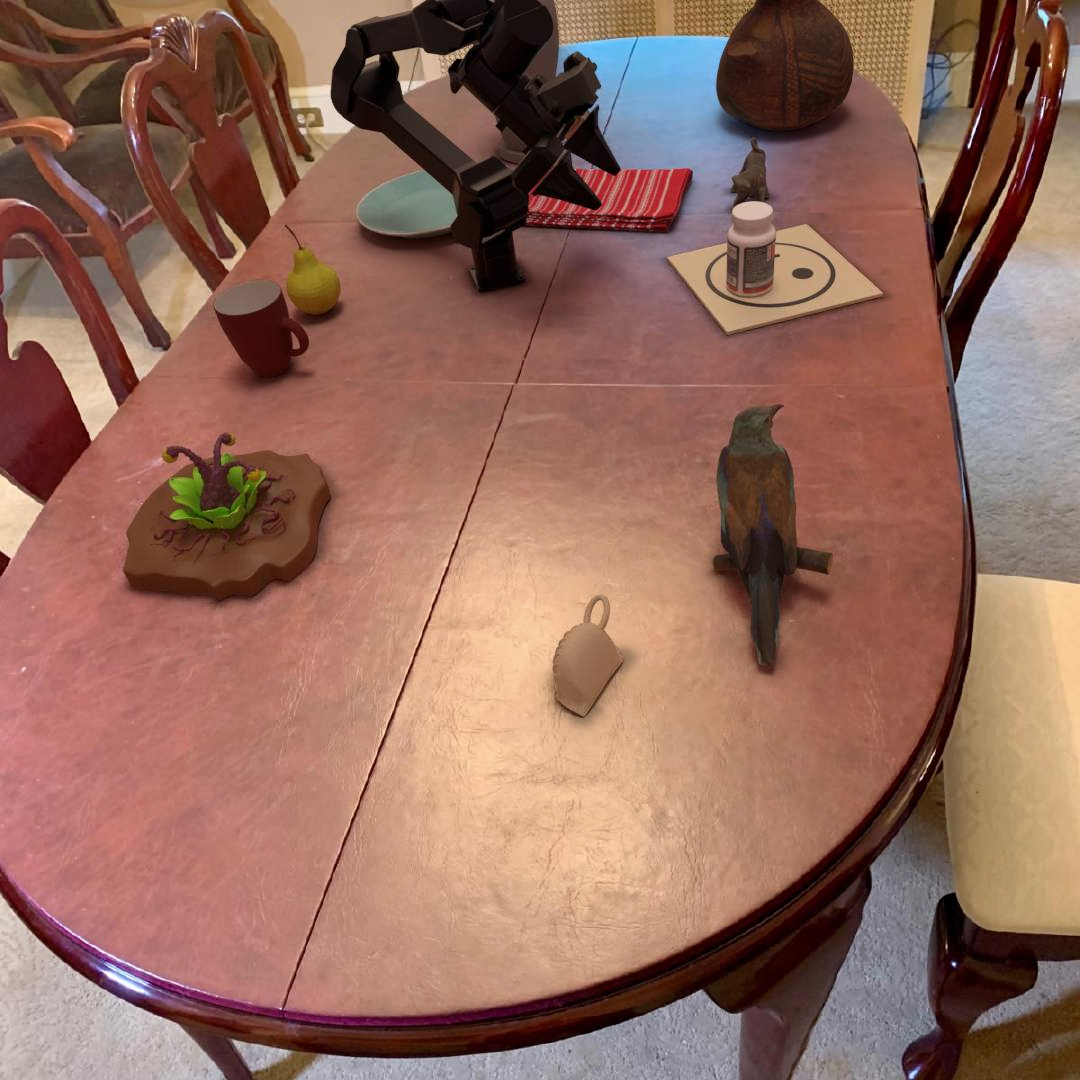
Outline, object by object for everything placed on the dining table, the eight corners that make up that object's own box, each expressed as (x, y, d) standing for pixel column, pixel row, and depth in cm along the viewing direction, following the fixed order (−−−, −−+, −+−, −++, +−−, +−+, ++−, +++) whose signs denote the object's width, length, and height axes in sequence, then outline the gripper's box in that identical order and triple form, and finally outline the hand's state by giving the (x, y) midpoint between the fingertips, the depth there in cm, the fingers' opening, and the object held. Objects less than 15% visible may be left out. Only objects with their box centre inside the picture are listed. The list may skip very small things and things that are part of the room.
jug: (712, 97, 164) (716, -108, 143) (841, 88, 160) (864, -123, 139) (711, 148, 148) (715, -72, 128) (853, 141, 145) (881, -87, 124)
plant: (170, 471, 104) (128, 388, 96) (342, 460, 102) (314, 374, 94) (105, 608, 90) (50, 523, 82) (304, 597, 88) (266, 510, 80)
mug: (333, 352, 118) (311, 280, 111) (307, 390, 112) (282, 317, 105) (258, 349, 120) (232, 278, 113) (229, 386, 115) (200, 314, 108)
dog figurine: (732, 185, 139) (733, 134, 133) (772, 185, 137) (775, 133, 132) (722, 223, 131) (724, 170, 125) (765, 224, 129) (768, 170, 124)
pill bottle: (779, 278, 117) (784, 202, 110) (764, 301, 114) (769, 224, 107) (734, 272, 120) (737, 196, 113) (719, 294, 116) (721, 218, 109)
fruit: (356, 307, 125) (332, 222, 117) (316, 330, 122) (288, 245, 114) (325, 292, 129) (300, 209, 121) (285, 315, 126) (256, 231, 117)
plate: (332, 244, 139) (327, 226, 137) (402, 179, 153) (398, 162, 151) (465, 257, 132) (462, 238, 130) (526, 188, 146) (524, 170, 144)
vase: (581, 142, 156) (561, -108, 132) (539, 174, 149) (510, -85, 124) (515, 133, 162) (485, -108, 138) (472, 163, 155) (432, -86, 130)
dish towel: (673, 234, 130) (673, 216, 128) (512, 227, 137) (510, 210, 135) (696, 179, 141) (696, 162, 139) (547, 176, 148) (545, 159, 146)
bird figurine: (842, 670, 74) (847, 416, 70) (715, 669, 76) (712, 421, 71) (821, 617, 87) (824, 400, 82) (713, 618, 89) (710, 405, 84)
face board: (666, 260, 125) (666, 255, 124) (806, 227, 127) (806, 221, 127) (726, 335, 111) (727, 329, 110) (882, 296, 113) (883, 290, 112)
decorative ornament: (540, 698, 76) (533, 657, 73) (594, 629, 81) (590, 587, 77) (582, 719, 75) (577, 678, 71) (635, 647, 79) (632, 605, 75)
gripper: (525, 69, 95) (636, 178, 99) (574, 10, 107) (671, 109, 112) (466, 146, 103) (572, 244, 107) (518, 83, 115) (611, 173, 119)
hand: (609, 189), depth 111 cm, fingers open, 9 cm apart
